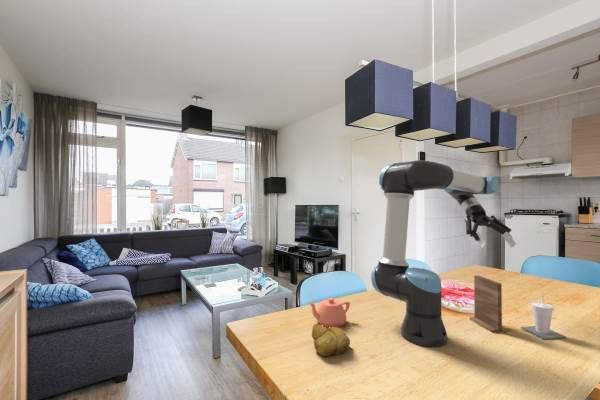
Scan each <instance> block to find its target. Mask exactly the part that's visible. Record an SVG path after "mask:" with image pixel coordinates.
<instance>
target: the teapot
mask: <svg viewBox="0 0 600 400" xmlns="http://www.w3.org/2000/svg"><path fill="white" fill-rule="evenodd" d="M307 303H308V304H309V305H310V306H311V312H312V315H313V317H314V318H315V319H316V321H317V322H318V324H319V323H320V325H323V326H325V327H326V328H329V327H338V328H341V327H343V326H344V325H345V324H346V322H347V312H348V310H349V309H350V306H351V302H350V301H348V300H346V301H342V302H340V300H337V299H335V298H332V297H329V298H327V299H323V300H322V301H321V302H320V304H319V305H318V307H317V309H316V306H315V303H314V302H309V301H308V302H307ZM343 305H345V308H344V306H343Z"/></svg>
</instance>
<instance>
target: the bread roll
mask: <svg viewBox="0 0 600 400" xmlns="http://www.w3.org/2000/svg"><path fill="white" fill-rule="evenodd" d="M311 337H312V340H313V347H314V350H315V351H316V352H317V353H318V354H319V355H321V356H324V357H327V356H328V357H329V356H331V355H341V354H343V353H344V351H345V350H347V349H348V347H350V344H351V339H350V338H349V336H347V333H346V332H345V331H344V330H343V329H342V328H341V327H330V328H329V327H324V326H322V325H321V324H319V323H315V324H314V325H313V326H312V329H311Z"/></svg>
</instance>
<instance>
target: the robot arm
mask: <svg viewBox="0 0 600 400" xmlns="http://www.w3.org/2000/svg"><path fill="white" fill-rule="evenodd" d="M378 184H379V186H380V189H381V190H382V191H383V196H384V197H385V198H386V201H387V202H386V210H385V211H386V213H385V226H384V237H383V238H384V240H383V248H382V249H383V250H382V251H383V253H382V258H380V259H379V260H378V264H376V265H375V266H374V267H373V269H372V271H371V275H370V280H371V285H372V286H373V288H374V290H375V291H376V292H377V293H379V294H381V295H383V296H386V297H389V298H393V299H395V300H398V301H402V302H404V303H405V315H404V318H403V320H402V323H401V325H400V326H401V327H400V334H401V336H402V337H403V338H404V339H405V340H406V341H408V342H410V343H412V344H416V345H419V346H424V347H431V348H432V347H433V348H434V347H435V348H437V347H442V346H445V345H446V344H447V342H448V334H447V330H446V328H445V324H444V322H443V318H442V290H443V288H442V280H441V277H440V275H438V274H437V273H436V272H435V271H432V270H430V269H425V268H420V267H410V263H408V261H406V254H407V243H408V242H407V241H408V240H407V239H408V227H409V226H408V225H409V212H410V211H409V210H410V201H411V199H413V198H414V197H415V191H418V192H419V191H426V190H444V192H446V193H447V194H448V195H450V196H451V197H452V198H453V199H454V200H456V201H457V203H458V205H459V206H460V207H461V209H462V210H463V211H464V213H465V215H466V216H465V218H464V222H465V231H466V232H465V233H466V235H469V236H470V237H472V238H473V239H474V240H475V241H476V242H477V243H478V245H479V246H480V248H481V249H484V248H485V247H486V246H487V242H486V241H485V239H484V237H482V235H481V233H480V232H479V231H478V228H479V227H482V226H483V227H487V228H491V229H493V230H494V231H497V232H498V233H500V234H501V236H502V237H503V240H504V241H505V242H506V243H507V244H508V246H509V248H514V247H515V246H516V245H517V243H516V241H515V240H514V238H513V236H512V235H511V234H510V233H511V232H512V229H511V228H510V227H508V226H507V225H506V224H504V223H503V222H502V221H500V220H499V219H498V218H497V217H496V216H495V215H491V216H488V215H487V212H486V210H485V208H484V207H483V206H482V205H481V203H480V202H479V200H478V199H477V198H476V197H475V196H474V195H492V194H496V193H497V192H498V190H499V181H498V179H497V178H496V177H495V176H479V175H475V174H471V173H467V172H464V171H459V170H456V169H453V168H452V167H451V166H449V165H447V164H443V163H440V162H437V161H436V162H435V161H430V160H424V159H423V160H422V159H420V160H419V159H418V160H413V161H403V162H394V163H392V164H387V165H386V166H385V167H384V168H382V170H381V172H380V174H379V177H378ZM472 223H474V224H473V227H472Z"/></svg>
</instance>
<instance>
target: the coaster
mask: <svg viewBox="0 0 600 400" xmlns="http://www.w3.org/2000/svg"><path fill="white" fill-rule="evenodd" d="M521 328H522V329H521ZM520 329H521V330H523V329H524V330H523V331H525V330H526V331H525V332H527V331H528V332H527V333H529V332H530V333H529V334H531V333H532V334H531V335H533V334H534V335H533V336H535V335H536V336H535V337H537V336H538V337H537V338H539V337H540V339H541V338H542V339H541V340H543V339H548V340H560V339H561V340H563V339H567V336H566V335H563V334H561V333H559V332H557V331H555V330H552V329H550V330H549V334H543V333H540V332H537V331H536V327H535V325H531V326H521V327H520Z"/></svg>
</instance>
